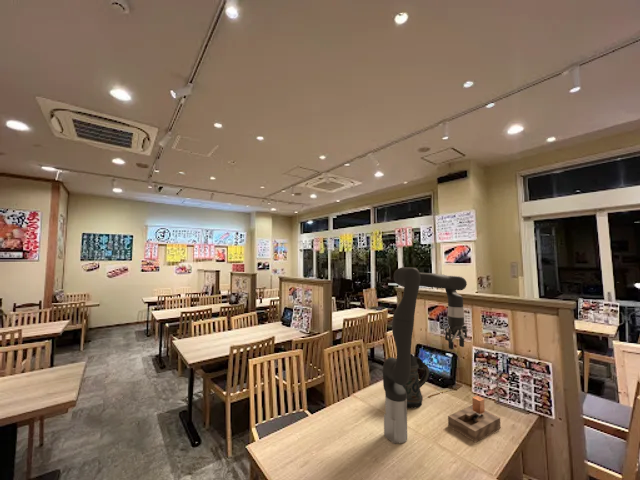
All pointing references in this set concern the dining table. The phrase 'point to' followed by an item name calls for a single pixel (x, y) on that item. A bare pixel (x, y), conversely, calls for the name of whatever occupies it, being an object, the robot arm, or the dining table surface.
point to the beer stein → (415, 383)
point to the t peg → (478, 407)
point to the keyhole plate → (468, 428)
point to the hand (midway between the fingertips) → (456, 347)
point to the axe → (434, 394)
